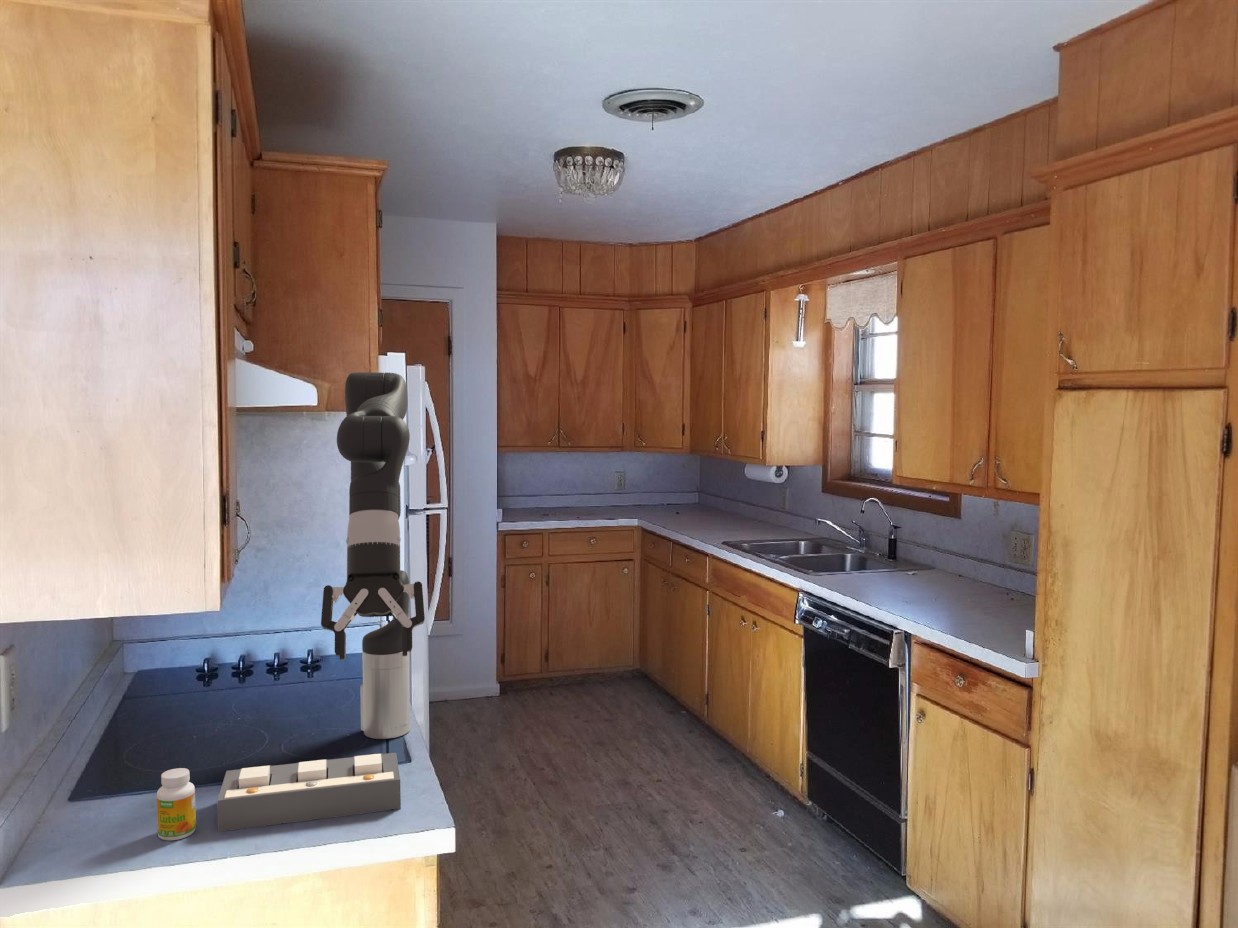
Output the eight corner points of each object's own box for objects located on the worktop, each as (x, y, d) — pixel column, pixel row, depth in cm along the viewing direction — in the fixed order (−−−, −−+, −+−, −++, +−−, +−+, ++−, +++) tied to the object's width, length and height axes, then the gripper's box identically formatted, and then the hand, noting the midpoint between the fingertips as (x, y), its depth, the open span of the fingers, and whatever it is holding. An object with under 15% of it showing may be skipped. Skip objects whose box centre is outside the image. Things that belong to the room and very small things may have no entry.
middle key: (298, 789, 149) (297, 772, 149) (299, 778, 154) (298, 762, 153) (326, 785, 151) (325, 769, 150) (326, 775, 155) (326, 759, 155)
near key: (239, 795, 147) (238, 779, 147) (242, 784, 151) (241, 768, 151) (268, 792, 148) (267, 775, 148) (270, 781, 152) (269, 765, 152)
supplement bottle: (154, 843, 139) (152, 781, 138) (162, 827, 144) (160, 768, 143) (192, 839, 140) (190, 778, 139) (198, 823, 145) (197, 764, 145)
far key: (355, 782, 152) (354, 766, 152) (354, 772, 156) (354, 756, 156) (382, 779, 153) (381, 763, 153) (381, 769, 157) (380, 753, 157)
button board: (218, 831, 143) (217, 798, 142) (227, 799, 154) (226, 768, 154) (400, 808, 151) (400, 777, 150) (396, 779, 162) (396, 750, 162)
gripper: (423, 549, 138) (425, 657, 133) (325, 552, 135) (323, 663, 130) (423, 538, 131) (425, 652, 126) (320, 541, 128) (318, 658, 123)
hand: (373, 657), depth 128 cm, fingers open, 8 cm apart
